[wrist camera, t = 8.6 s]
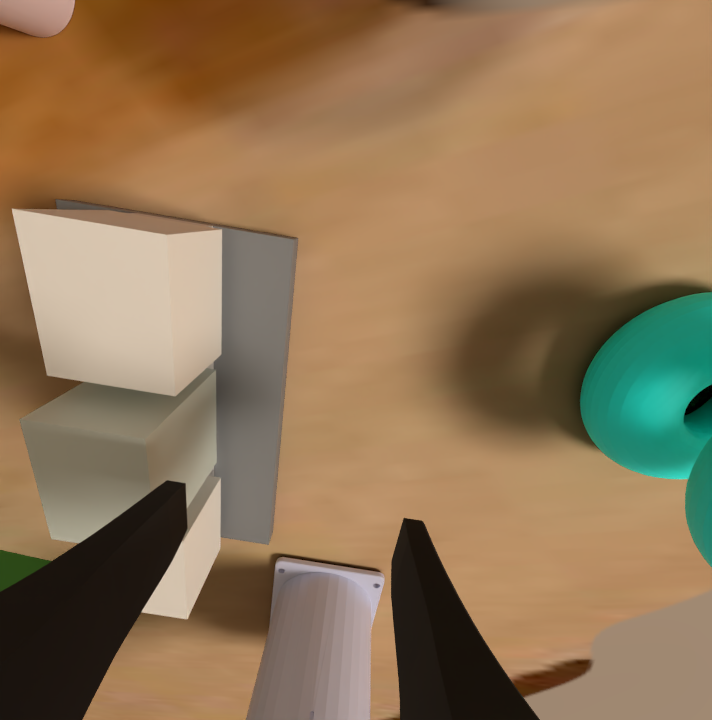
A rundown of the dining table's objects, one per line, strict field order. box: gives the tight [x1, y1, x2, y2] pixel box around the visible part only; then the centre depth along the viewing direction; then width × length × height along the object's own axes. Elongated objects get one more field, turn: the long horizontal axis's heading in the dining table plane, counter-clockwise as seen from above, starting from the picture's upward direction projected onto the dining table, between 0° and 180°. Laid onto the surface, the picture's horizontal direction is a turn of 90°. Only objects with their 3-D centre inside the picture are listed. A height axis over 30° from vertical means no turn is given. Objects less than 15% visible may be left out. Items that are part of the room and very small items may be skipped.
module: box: [19, 368, 217, 543], centre depth 16 cm, size 6×5×6 cm
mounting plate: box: [12, 199, 298, 619], centre depth 18 cm, size 20×11×6 cm, turn 171°
